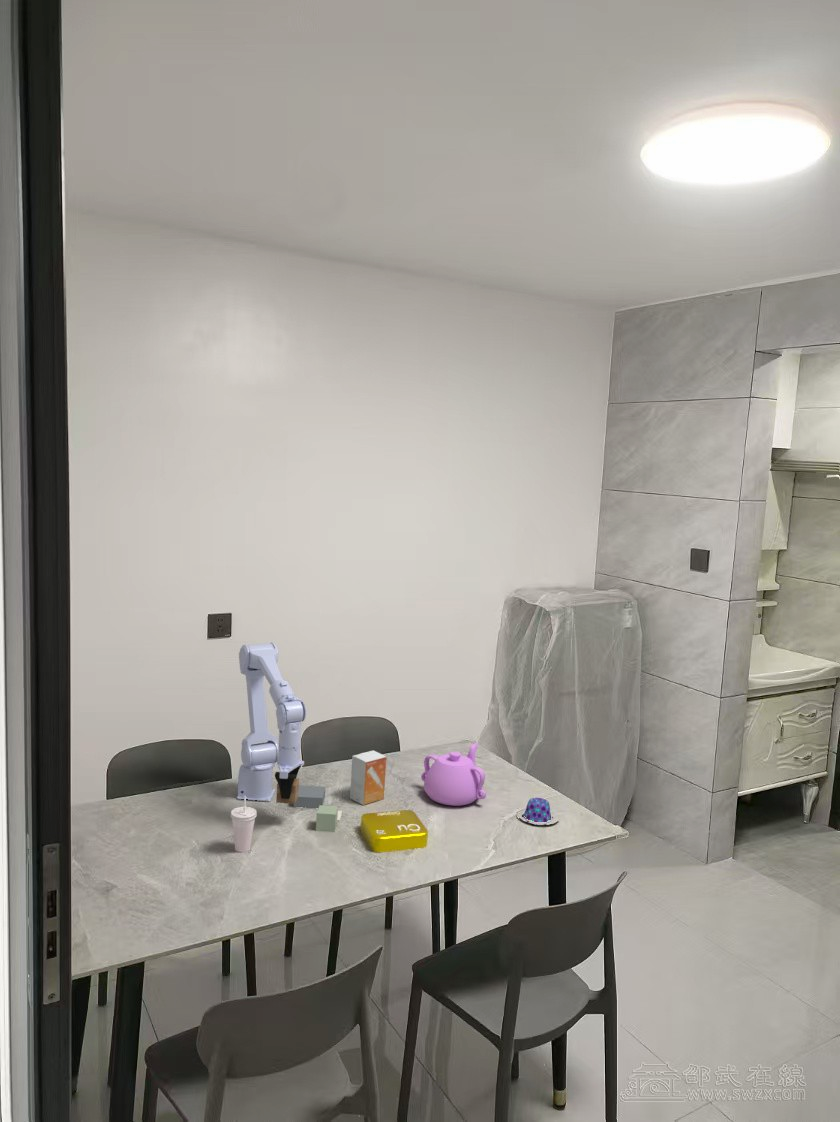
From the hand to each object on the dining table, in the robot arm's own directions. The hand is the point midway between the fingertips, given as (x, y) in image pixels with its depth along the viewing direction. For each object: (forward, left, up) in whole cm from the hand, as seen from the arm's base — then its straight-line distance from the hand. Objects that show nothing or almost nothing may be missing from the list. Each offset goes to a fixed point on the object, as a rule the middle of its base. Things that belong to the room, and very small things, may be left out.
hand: (287, 794), depth 224 cm
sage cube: (+11, -1, -8) cm, 14 cm away
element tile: (+29, -4, -9) cm, 31 cm away
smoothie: (-8, -16, -8) cm, 20 cm away
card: (+11, +6, -8) cm, 15 cm away
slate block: (+4, +14, -8) cm, 17 cm away
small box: (+20, +19, -8) cm, 29 cm away
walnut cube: (0, 0, -2) cm, 2 cm away
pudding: (+69, +14, -9) cm, 71 cm away
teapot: (+46, +26, -8) cm, 53 cm away
